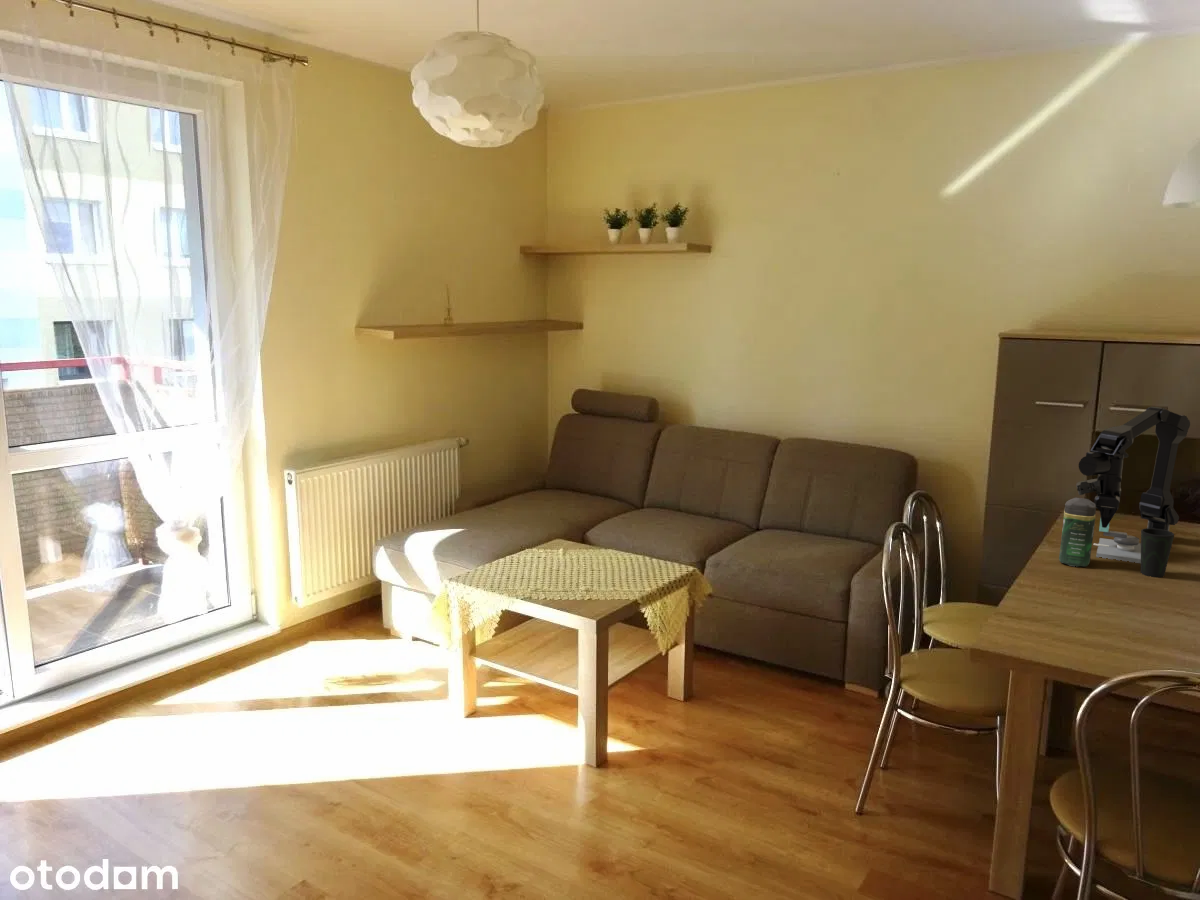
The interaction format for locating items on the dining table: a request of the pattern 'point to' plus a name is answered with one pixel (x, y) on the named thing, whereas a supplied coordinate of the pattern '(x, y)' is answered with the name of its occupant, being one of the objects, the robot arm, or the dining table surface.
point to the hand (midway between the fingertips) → (1104, 523)
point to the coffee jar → (1077, 532)
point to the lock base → (1118, 551)
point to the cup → (1155, 551)
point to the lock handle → (1119, 536)
